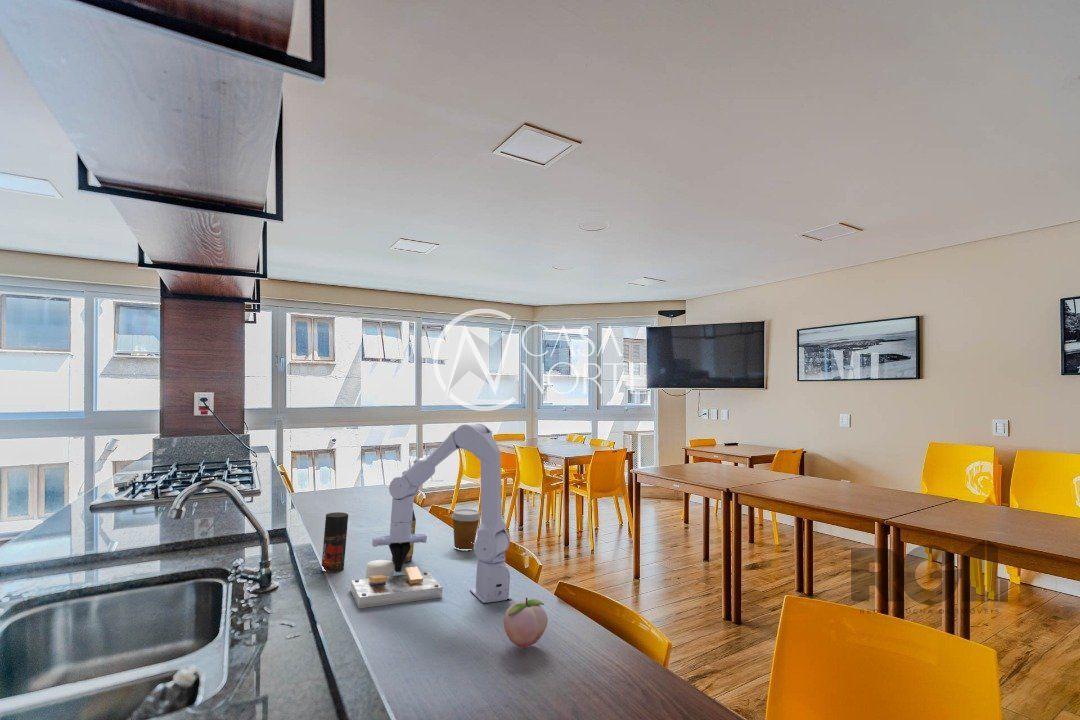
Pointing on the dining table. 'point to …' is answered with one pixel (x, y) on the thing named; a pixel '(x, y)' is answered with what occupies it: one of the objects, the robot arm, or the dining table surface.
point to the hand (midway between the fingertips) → (397, 570)
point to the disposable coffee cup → (465, 527)
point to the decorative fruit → (525, 622)
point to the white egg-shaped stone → (379, 568)
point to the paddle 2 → (413, 575)
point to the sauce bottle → (410, 553)
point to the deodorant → (334, 542)
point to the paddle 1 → (378, 578)
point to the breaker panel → (394, 590)
